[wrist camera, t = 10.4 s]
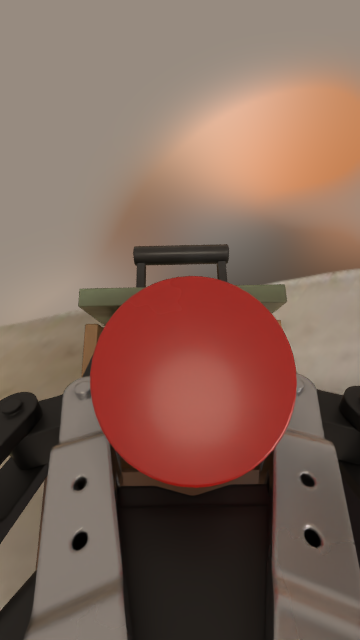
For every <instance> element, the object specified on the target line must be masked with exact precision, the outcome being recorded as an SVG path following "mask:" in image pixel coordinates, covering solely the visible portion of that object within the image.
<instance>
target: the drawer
mask: <svg viewBox="0 0 360 640" xmlns="http://www.w3.org/2000/svg"><path fill="white" fill-rule="evenodd" d="M133 255H134V263H135V265H136V266H137V285H136V288H95V289H80V291H79V303H78V306H79V307H80V308H81V309H83V310H84V311H85V312H87V313H88V314H89V315H91V316H92V317H94V318H95V319H96V320H98V321H99V322H100V323H102V324H103V325H104V326H105V325H106V323H107V322H108V321H109V319H110V318H111V317H112V315H113V314H114V313H115V312H116V310H117V309H118V308H119V307H120V306H121V305H122V304H123V303H124V302H125V301H127V300H128V299H129V298H130V297H131V296H133V295H134V294H136V293H137V292H139V291H140V290H142V289H144V288H146V265H178V264H179V265H182V264H217V274H218V275H217V276H218V280H221V281H225V282H227V272H226V264H227V263H228V259H229V247H228V245H227V244H224V245H180V246H138V247H134V252H133ZM235 286H237V287H239V288H241V289H242V290H244V291H246V292H248V293H249V294H251V295H252V296H253V297H255V298H256V299H257V300H259V301H260V302H261V303H262V304H263V305H264V306H265V307H266V308H267V309H268V310H269V311H270V313H271V314H272V313H273V312H275V311H276V310H277V309H278V308H280V307H281V306H282V305H283V304H285V303H286V302H287V297H286V290H285V285H284V284H277V285H235ZM277 322H278V323H279V325H280V326H281V320H277ZM281 328H282V327H281ZM103 329H104V328H103V327H101V326H100V325H98V324H86V325H85V337H84V350H83V364H82V377H83V374H84V372H85V370H86V368H87V366H88V364H89V362H90V359H91V357H92V355H93V353H94V350H95V347H96V344H97V342H98V339H99V337H100V334H101V333H102V331H103ZM82 377H81V378H82ZM120 457H121V456H120ZM121 464H122V468H134V467H132V466H131V465H130V464H128V463H127V462H126V461H125V460H124V459H123V458H122V457H121ZM257 466H259V465H257Z"/></svg>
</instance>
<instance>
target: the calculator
mask: <svg viewBox="0 0 360 640" xmlns="http://www.w3.org/2000/svg"><path fill="white" fill-rule="evenodd" d="M341 479H342V478H341ZM342 484H343V489H344V494H345V499H346V504H347V509H348V514H349V519H350V524H351V529H352V533H353V538H354V543H355V548H356V553H357V558H358V563H359V568H360V500H359V499H358V498H357V497H356V495H355V494H354V493H353V492H352V490H351V489H350V488H349V487H348V485H347V484H346V483H345V481H344V480H343V479H342Z"/></svg>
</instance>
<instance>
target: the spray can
mask: <svg viewBox="0 0 360 640" xmlns="http://www.w3.org/2000/svg"><path fill="white" fill-rule="evenodd" d="M296 388H297V378H296V367H295V362H294V357H293V353H292V350H291V347H290V344H289V342H288V340H287V337H286V335H285V333H284V331H283V329H282V328H281V326H280V325H279V323H278V322H277V320H276V319H275V317H274V316H273V315H272V314H271V313H270V311H269V310H268V309H267V308H266V307H265V306H264V305H263V304H262V303H261V302H260V301H259V300H257V299H256V298H255V297H253V296H252V295H251V294H249V293H248V292H246V291H244V290H242V289H241V288H239V287H237V286H235V285H232V284H230V283H228V282H225V281H221V280H218V279H214V278H208V277H202V276H199V277H198V276H185V277H176V278H171V279H166V280H163V281H160V282H157V283H154V284H152V285H150V286H148V287H146V288H144V289H142V290H140V291H139V292H137V293H136V294H134V295H133V296H131V297H130V298H129V299H128V300H127V301H125V302H124V303H123V304H122V305H121V306H120V307H119V308H118V309H117V310H116V312H115V313H114V314H113V315H112V317H111V318H110V319H109V321H108V322H107V323H106V325H105V327H104V329H103V331H102V333H101V334H100V337H99V339H98V342H97V344H96V347H95V350H94V354H93V358H92V363H91V371H90V390H91V398H92V404H93V407H94V411H95V415H96V417H97V420H98V422H99V425H100V427H101V429H102V431H103V433H104V435H105V436H106V438H107V440H108V441H109V443H110V444H111V445H112V447H113V448H114V449H115V450H116V452H117V453H118V454H119V455H120V456H121V457H122V458H123V459H124V460H125V461H126V462H127V463H128V464H130V465H131V466H132V467H134V468H135V469H137V470H138V471H139V472H141V473H143V474H145V475H147V476H148V477H150V478H152V479H155V480H157V481H160V482H163V483H165V484H169V485H174V486H179V487H190V488H200V487H211V486H215V485H219V484H223V483H227V482H229V481H232V480H234V479H237V478H239V477H241V476H243V475H244V474H246V473H248V472H249V471H251V470H253V469H254V468H255V467H256V466H257V465H259V464H260V463H261V462H262V461H264V460H265V459H266V457H267V456H268V455H269V454H270V453H271V452H272V451H273V450H274V448H275V447H276V446H277V444H278V443H279V441H280V440H281V438H282V437H283V435H284V433H285V431H286V429H287V427H288V425H289V422H290V419H291V416H292V413H293V409H294V404H295V399H296Z"/></svg>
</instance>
